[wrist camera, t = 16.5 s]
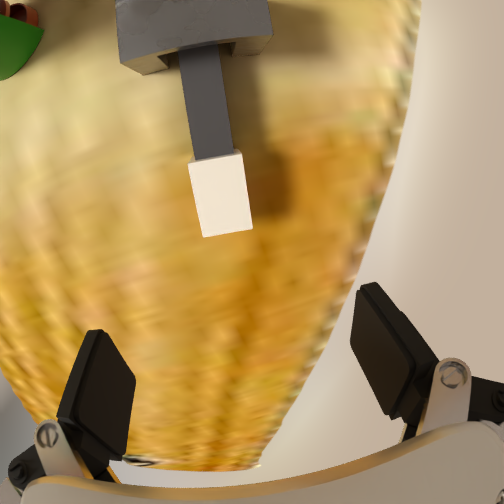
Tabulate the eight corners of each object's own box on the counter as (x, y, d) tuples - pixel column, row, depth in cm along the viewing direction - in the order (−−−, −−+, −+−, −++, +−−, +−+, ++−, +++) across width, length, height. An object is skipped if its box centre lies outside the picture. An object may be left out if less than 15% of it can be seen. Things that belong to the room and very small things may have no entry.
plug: (168, -3, 15) (161, -21, 12) (213, -11, 16) (213, -30, 12) (204, 219, 26) (203, 237, 22) (247, 212, 26) (252, 228, 22)
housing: (136, 19, 16) (115, -5, 10) (250, -1, 16) (260, -32, 11) (143, 75, 19) (120, 63, 13) (259, 54, 19) (273, 34, 14)
